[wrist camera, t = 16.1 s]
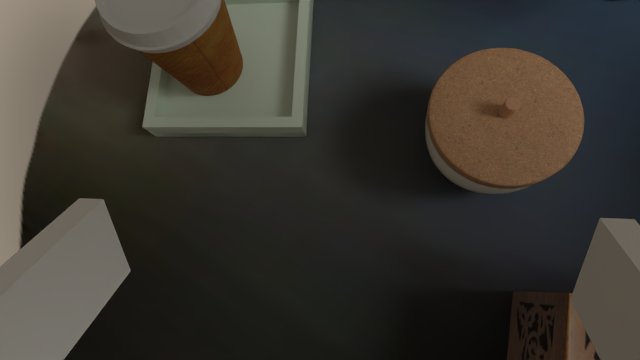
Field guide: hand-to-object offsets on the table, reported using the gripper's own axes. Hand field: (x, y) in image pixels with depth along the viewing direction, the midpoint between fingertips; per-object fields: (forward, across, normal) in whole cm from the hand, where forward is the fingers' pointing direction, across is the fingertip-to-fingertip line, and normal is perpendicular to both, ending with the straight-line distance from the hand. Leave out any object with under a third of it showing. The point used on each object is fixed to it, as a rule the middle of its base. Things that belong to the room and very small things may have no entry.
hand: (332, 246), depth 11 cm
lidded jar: (+26, +10, -10) cm, 29 cm away
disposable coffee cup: (+30, -15, -3) cm, 34 cm away
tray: (+31, -13, -4) cm, 34 cm away
